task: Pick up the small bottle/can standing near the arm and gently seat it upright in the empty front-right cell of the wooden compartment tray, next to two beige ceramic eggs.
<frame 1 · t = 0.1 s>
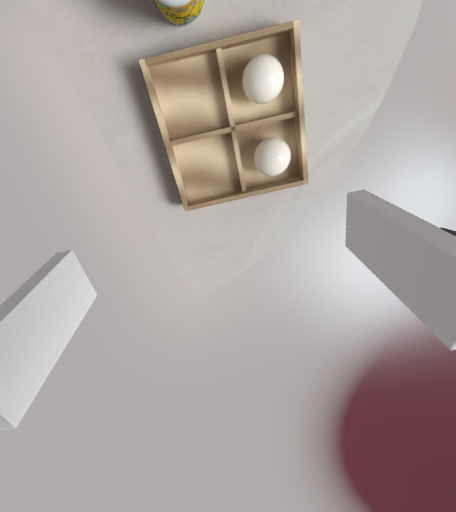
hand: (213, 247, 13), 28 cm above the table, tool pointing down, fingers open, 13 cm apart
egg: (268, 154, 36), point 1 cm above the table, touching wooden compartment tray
wooden compartment tray: (231, 127, 35), on the table
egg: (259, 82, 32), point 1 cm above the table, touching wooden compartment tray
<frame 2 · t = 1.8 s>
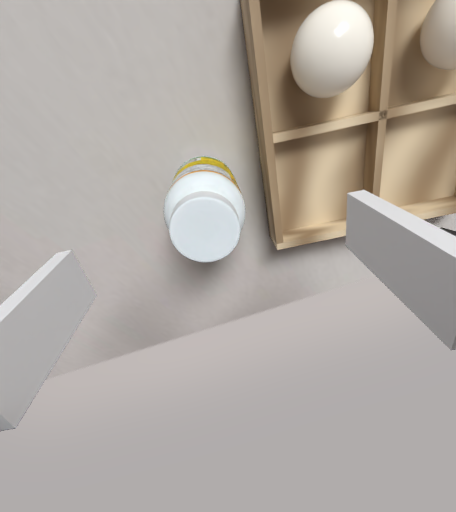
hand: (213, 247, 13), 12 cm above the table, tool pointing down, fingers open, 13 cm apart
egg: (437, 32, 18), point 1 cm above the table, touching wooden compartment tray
wooden compartment tray: (366, 114, 21), on the table
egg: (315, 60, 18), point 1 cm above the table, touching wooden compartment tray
supplement bottle: (205, 187, 23), on the table
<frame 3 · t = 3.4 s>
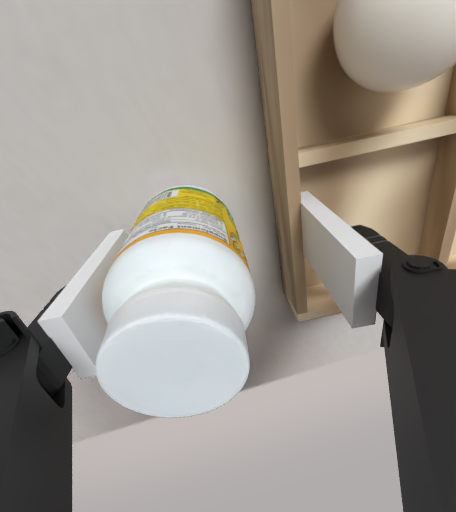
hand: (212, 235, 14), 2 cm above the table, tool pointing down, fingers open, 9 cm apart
wooden compartment tray: (436, 120, 14), on the table
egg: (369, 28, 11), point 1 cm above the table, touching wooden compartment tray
supplement bottle: (188, 228, 15), on the table
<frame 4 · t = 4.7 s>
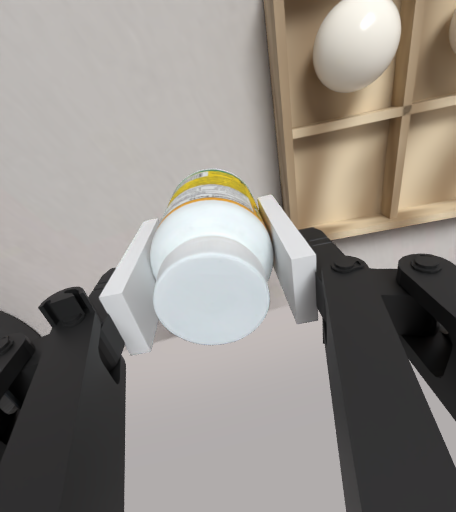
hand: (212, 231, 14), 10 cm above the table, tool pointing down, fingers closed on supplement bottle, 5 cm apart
wooden compartment tray: (388, 110, 21), on the table
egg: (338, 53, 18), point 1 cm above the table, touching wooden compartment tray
supplement bottle: (213, 208, 17), point 6 cm above the table, touching gripper
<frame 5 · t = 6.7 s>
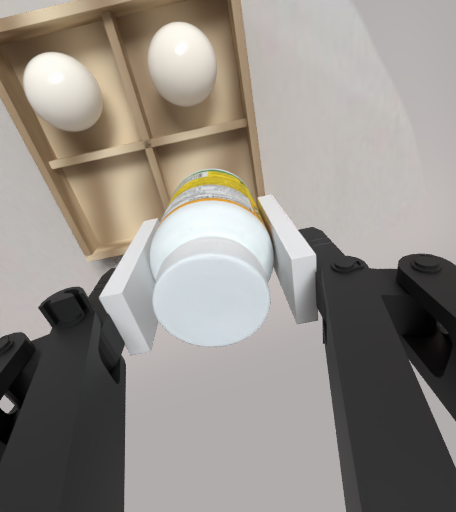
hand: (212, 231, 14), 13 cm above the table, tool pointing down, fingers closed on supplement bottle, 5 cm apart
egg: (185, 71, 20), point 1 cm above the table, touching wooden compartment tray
wooden compartment tray: (152, 141, 23), on the table
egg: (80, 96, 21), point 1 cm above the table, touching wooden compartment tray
supplement bottle: (213, 208, 17), point 9 cm above the table, touching gripper
when the fingers open (4 cm above the table, at t = 8.8 s): supplement bottle stays where it is, resting on wooden compartment tray.
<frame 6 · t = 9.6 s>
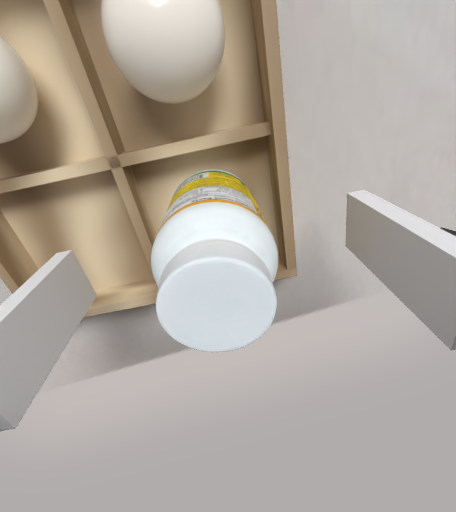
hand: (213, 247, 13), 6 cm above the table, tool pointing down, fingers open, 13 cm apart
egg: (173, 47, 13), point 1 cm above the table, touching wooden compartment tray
wooden compartment tray: (126, 155, 16), on the table
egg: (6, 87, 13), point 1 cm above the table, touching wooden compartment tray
supplement bottle: (213, 210, 17), point 1 cm above the table, touching wooden compartment tray
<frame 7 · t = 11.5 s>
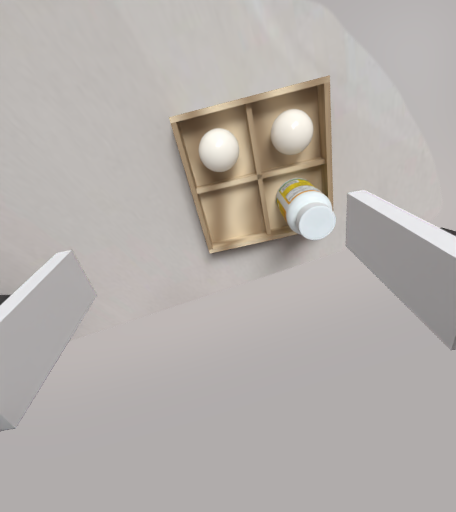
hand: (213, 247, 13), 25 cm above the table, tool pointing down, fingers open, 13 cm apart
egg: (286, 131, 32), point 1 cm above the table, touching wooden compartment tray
wooden compartment tray: (257, 172, 35), on the table
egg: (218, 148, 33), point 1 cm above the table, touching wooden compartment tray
supplement bottle: (293, 196, 37), point 1 cm above the table, touching wooden compartment tray
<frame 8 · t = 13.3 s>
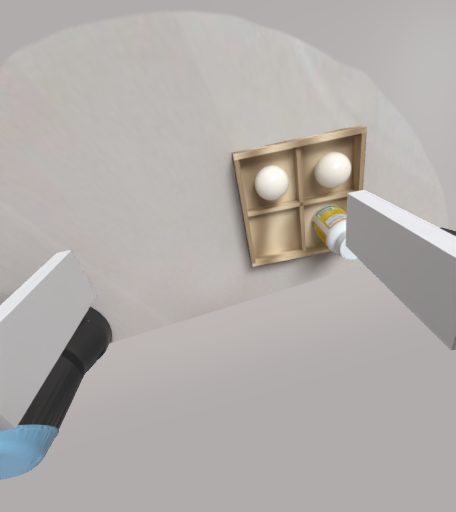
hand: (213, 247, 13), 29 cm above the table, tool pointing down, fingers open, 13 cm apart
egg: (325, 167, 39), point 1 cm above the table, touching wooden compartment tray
wooden compartment tray: (297, 199, 42), on the table
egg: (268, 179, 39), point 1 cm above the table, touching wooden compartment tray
supplement bottle: (326, 219, 43), point 1 cm above the table, touching wooden compartment tray
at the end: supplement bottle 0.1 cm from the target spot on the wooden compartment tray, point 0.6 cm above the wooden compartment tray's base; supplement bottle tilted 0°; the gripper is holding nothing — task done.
